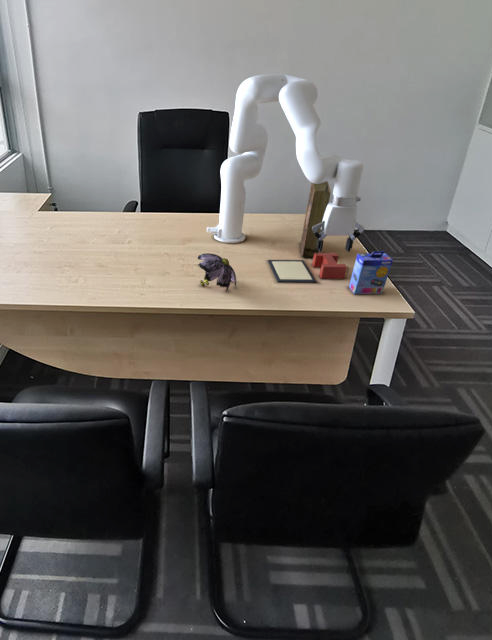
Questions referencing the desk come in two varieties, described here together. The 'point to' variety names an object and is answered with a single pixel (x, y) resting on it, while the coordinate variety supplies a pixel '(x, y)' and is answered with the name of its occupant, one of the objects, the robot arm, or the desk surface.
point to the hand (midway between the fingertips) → (333, 250)
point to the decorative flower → (217, 270)
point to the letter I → (329, 266)
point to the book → (314, 217)
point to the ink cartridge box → (370, 273)
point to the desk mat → (291, 271)
